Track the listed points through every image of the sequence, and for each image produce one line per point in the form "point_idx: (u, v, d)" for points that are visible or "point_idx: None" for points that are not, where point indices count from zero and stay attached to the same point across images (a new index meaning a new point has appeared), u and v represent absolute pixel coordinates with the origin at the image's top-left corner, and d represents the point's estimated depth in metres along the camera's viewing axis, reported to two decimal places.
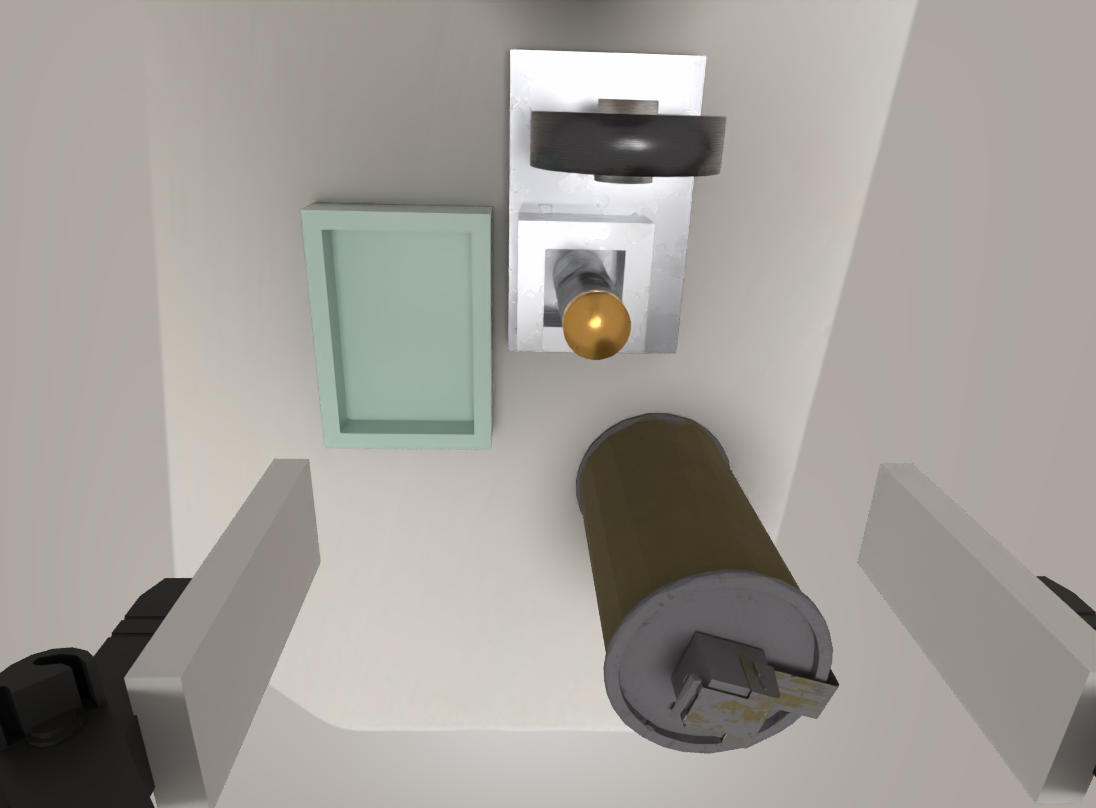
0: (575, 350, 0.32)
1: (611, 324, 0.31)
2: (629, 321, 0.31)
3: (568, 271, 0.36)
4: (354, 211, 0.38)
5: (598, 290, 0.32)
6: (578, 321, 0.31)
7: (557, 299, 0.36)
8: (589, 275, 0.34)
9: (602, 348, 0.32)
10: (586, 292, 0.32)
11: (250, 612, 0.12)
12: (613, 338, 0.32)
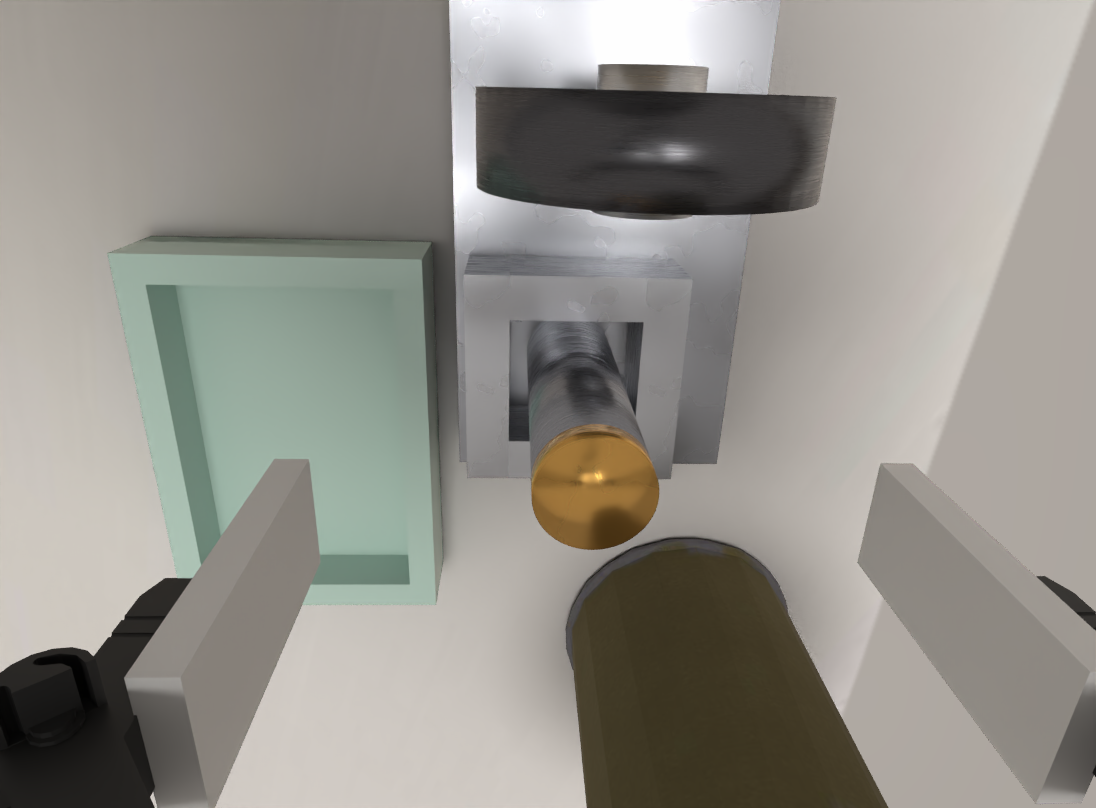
0: (555, 534, 0.17)
1: (622, 491, 0.17)
2: (656, 485, 0.17)
3: (547, 361, 0.22)
4: (198, 255, 0.23)
5: (598, 426, 0.17)
6: (560, 486, 0.17)
7: None
8: (582, 379, 0.20)
9: (605, 531, 0.17)
10: (575, 430, 0.17)
11: (250, 612, 0.12)
12: (627, 515, 0.17)
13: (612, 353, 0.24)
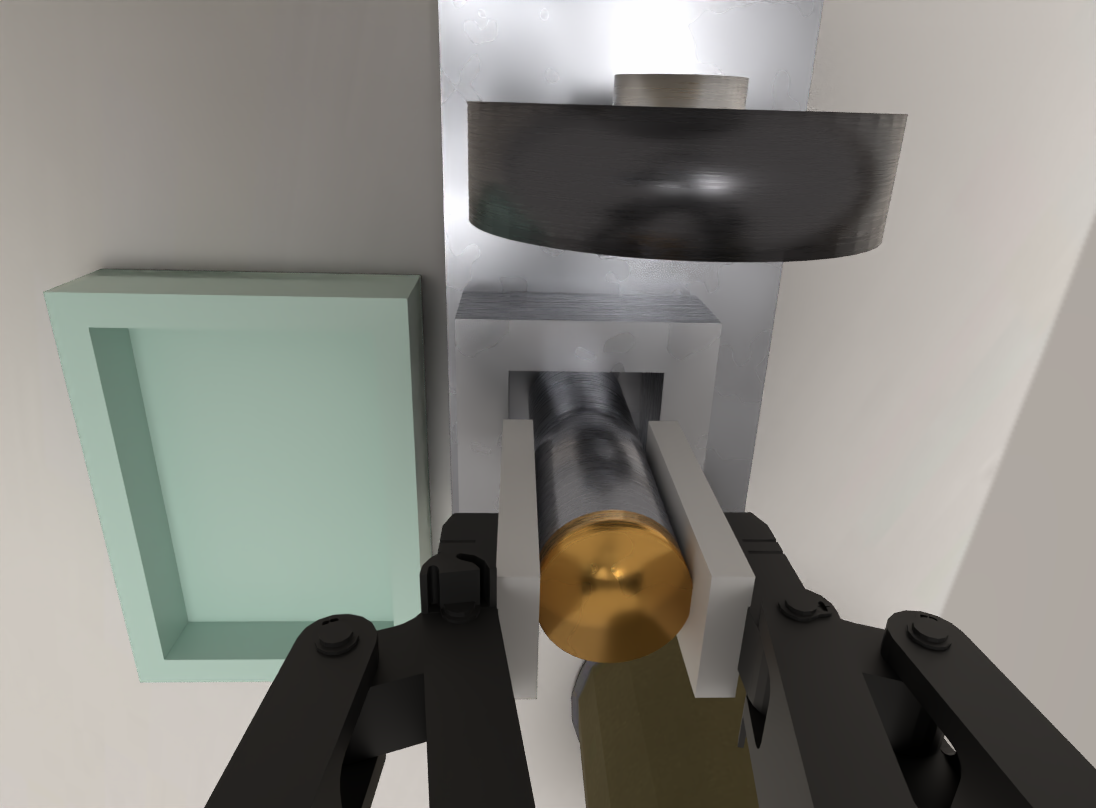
0: (564, 646, 0.14)
1: (648, 594, 0.14)
2: (689, 587, 0.14)
3: (553, 418, 0.19)
4: (148, 294, 0.20)
5: (617, 514, 0.14)
6: (570, 589, 0.13)
7: None
8: (595, 445, 0.16)
9: (626, 641, 0.14)
10: (589, 518, 0.14)
11: None
12: (652, 622, 0.14)
13: None
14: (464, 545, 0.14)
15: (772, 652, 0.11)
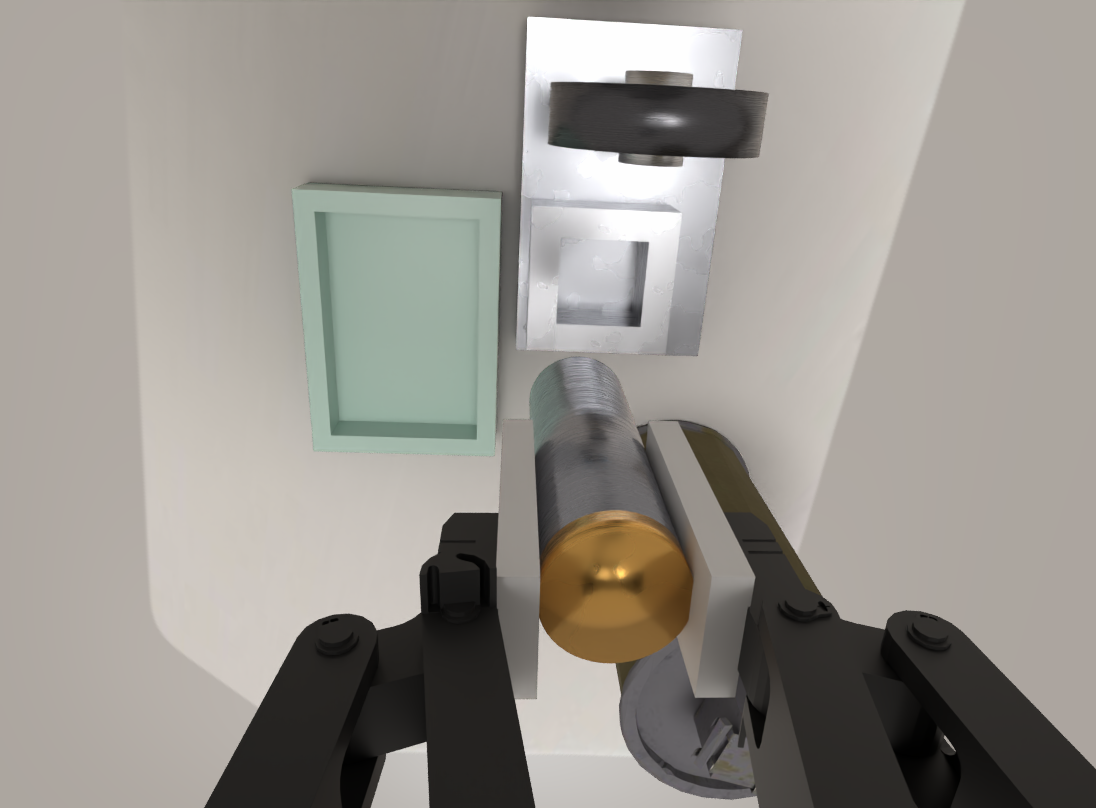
0: (566, 646, 0.14)
1: (649, 594, 0.14)
2: (691, 587, 0.14)
3: (554, 418, 0.19)
4: (351, 192, 0.34)
5: (619, 514, 0.14)
6: (572, 589, 0.13)
7: None
8: (596, 445, 0.16)
9: (628, 641, 0.14)
10: (591, 518, 0.14)
11: None
12: (655, 622, 0.14)
13: None
14: (464, 545, 0.14)
15: (772, 653, 0.11)
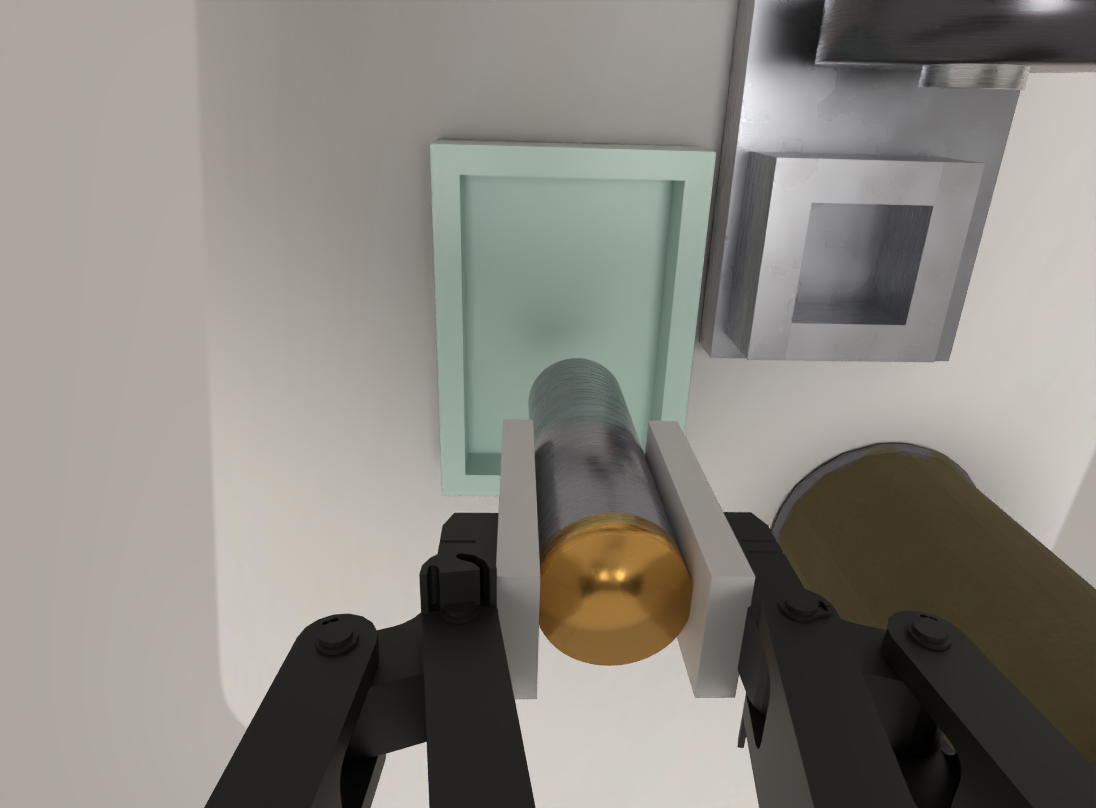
0: (564, 648, 0.14)
1: (648, 596, 0.14)
2: (689, 589, 0.14)
3: (553, 420, 0.19)
4: (511, 146, 0.25)
5: (617, 516, 0.14)
6: (570, 591, 0.13)
7: None
8: (595, 447, 0.16)
9: (626, 643, 0.14)
10: (589, 520, 0.14)
11: None
12: (652, 624, 0.14)
13: None
14: (464, 545, 0.14)
15: (771, 652, 0.11)
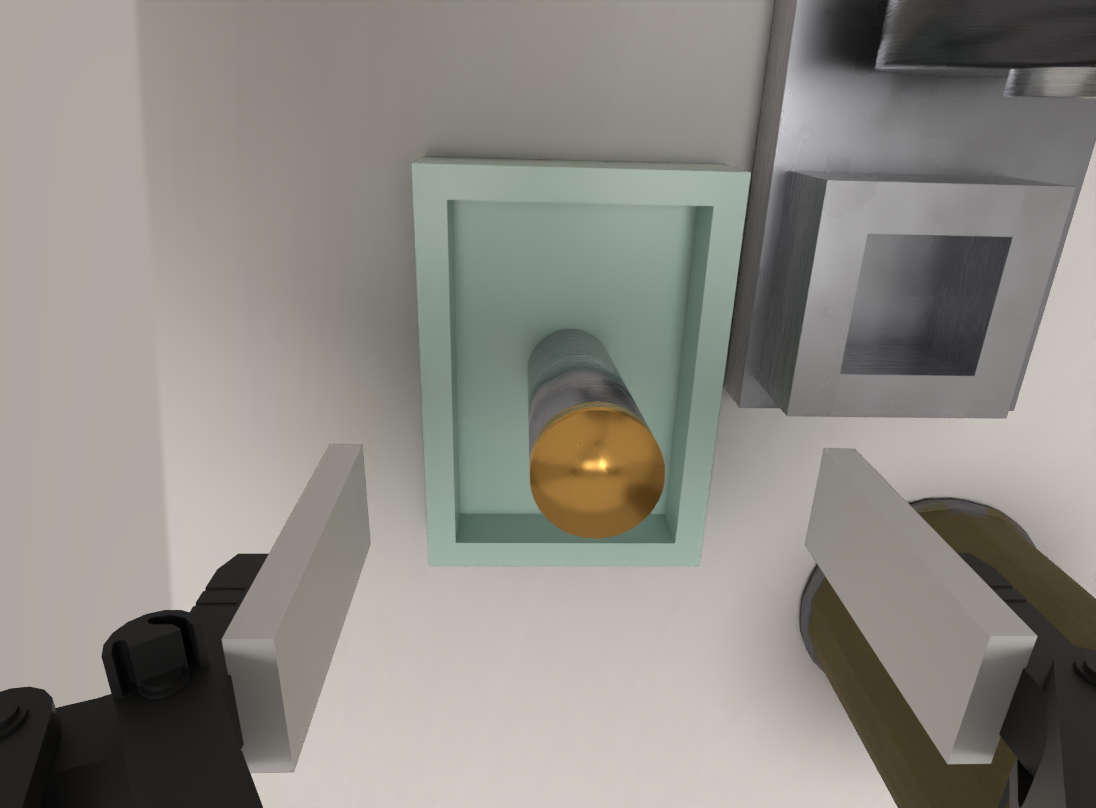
0: (555, 521, 0.16)
1: (626, 470, 0.16)
2: (662, 464, 0.16)
3: (548, 364, 0.21)
4: (508, 166, 0.21)
5: (599, 403, 0.16)
6: (560, 465, 0.16)
7: (528, 412, 0.20)
8: (583, 372, 0.19)
9: (608, 516, 0.16)
10: (575, 407, 0.16)
11: (321, 585, 0.13)
12: (631, 498, 0.16)
13: None
14: (230, 594, 0.12)
15: (1055, 708, 0.10)
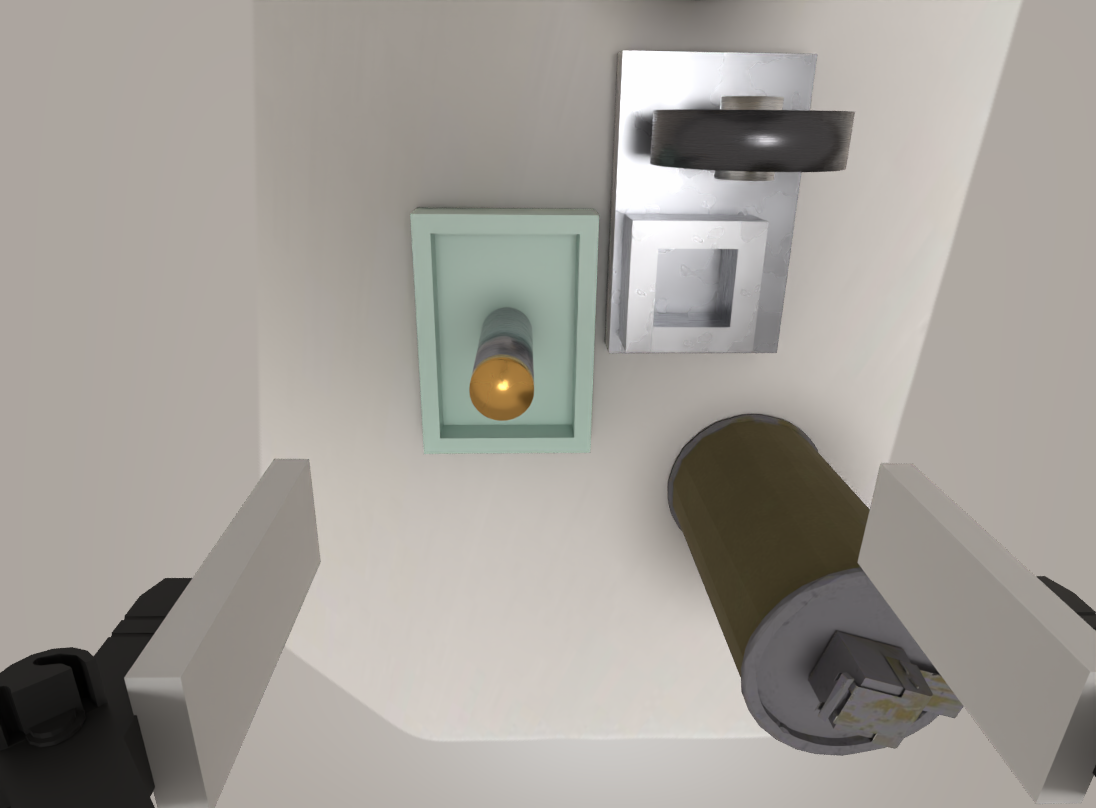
0: (482, 412, 0.33)
1: (515, 387, 0.33)
2: (532, 384, 0.33)
3: (487, 331, 0.38)
4: (463, 214, 0.38)
5: (502, 355, 0.33)
6: (483, 385, 0.33)
7: None
8: (501, 337, 0.36)
9: (508, 410, 0.33)
10: (491, 357, 0.33)
11: (250, 612, 0.12)
12: (518, 400, 0.33)
13: (530, 329, 0.41)
14: (150, 623, 0.12)
15: None
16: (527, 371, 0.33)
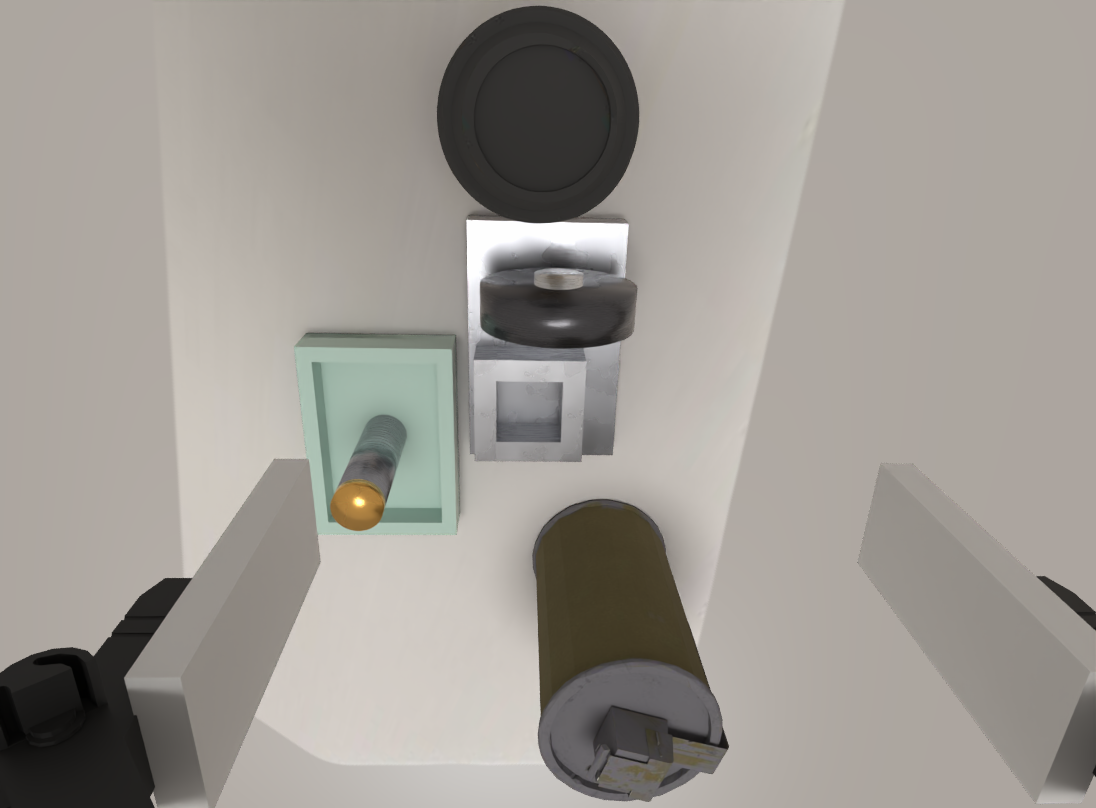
0: (342, 524, 0.42)
1: (367, 506, 0.41)
2: (381, 503, 0.41)
3: (359, 444, 0.46)
4: (338, 347, 0.46)
5: (357, 480, 0.41)
6: (341, 504, 0.41)
7: None
8: (365, 456, 0.44)
9: (363, 523, 0.42)
10: (348, 481, 0.41)
11: (250, 612, 0.12)
12: (371, 516, 0.41)
13: (400, 436, 0.49)
14: (150, 623, 0.12)
15: None
16: (377, 493, 0.41)
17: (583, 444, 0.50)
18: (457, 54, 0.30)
